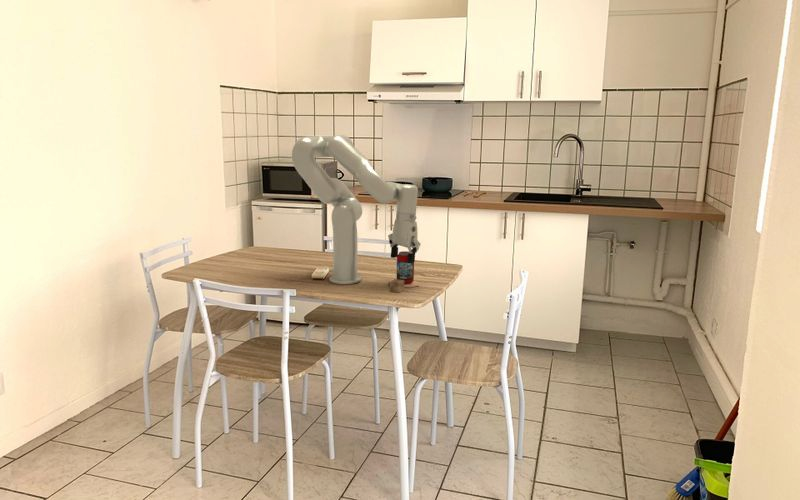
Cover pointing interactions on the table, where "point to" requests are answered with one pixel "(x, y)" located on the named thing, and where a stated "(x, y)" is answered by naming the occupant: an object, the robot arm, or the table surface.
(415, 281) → the coaster
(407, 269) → the beverage can
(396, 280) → the walnut block
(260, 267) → the table surface
